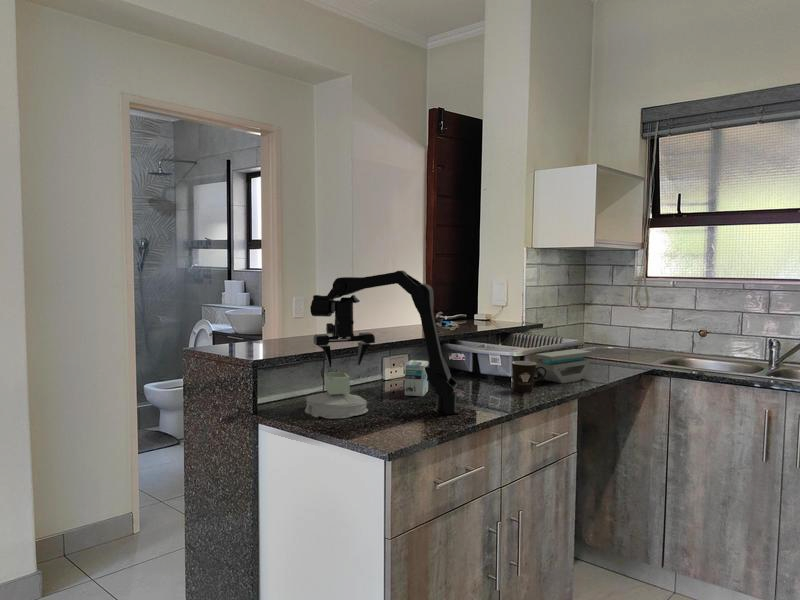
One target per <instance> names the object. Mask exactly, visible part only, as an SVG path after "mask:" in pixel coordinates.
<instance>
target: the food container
mask: <svg viewBox="0 0 800 600" xmlns="http://www.w3.org/2000/svg"><path fill="white" fill-rule="evenodd" d="M305 401H306V407H305V409H304V413H305V414H307V415H310V416H312V417H314V418H319V417H321V418H324V419H346V418H352V417H354V416H360V415H364V414H365V413H367V412H368V411H369V408H367V406H368V401H367V400H366V399H365V398H362V396H359V395H357V394H356V395H355V394H351V393H348V394H331V395H330V394H329V393H328V392H324V393H323V392H321V393H316V394H311V395H308V396H307V397H306V398H305Z"/></svg>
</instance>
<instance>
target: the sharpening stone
mask: <svg viewBox="0 0 800 600" xmlns="http://www.w3.org/2000/svg"><path fill="white" fill-rule="evenodd" d="M592 353H593V351H591V350H585V349H577V348H573V349H566V350H565V349H564V350H559V351H557V350H556V351H550V352H542V353H541V352H540V353H536V354H535V355H534V358H535V359H538V360H543V361H539V362H536V368H538V367H544V368H545V369H546V375H545V376H544V377H543V378H544V380H545V381H549V382H553V383H559V384H567V383H571V382H578V381H581V380H582V378H583V377H584V376H585V374H586V372H587V370H588V368H589V367H590V363H591V359H586V358H584V357H589V356H593V355H592ZM559 369H562V370H559ZM563 369H564V370H563ZM537 371H538V372H539V373H540V374H541V375H542V376H543V375H544V374H545V370H544V369H542V368H540V369H538V370H537ZM542 376H541V377H542Z"/></svg>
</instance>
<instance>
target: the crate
mask: <svg viewBox="0 0 800 600" xmlns="http://www.w3.org/2000/svg"><path fill="white" fill-rule="evenodd" d="M323 375H324V389H325V391H326V393H329V394H330V395H331V394H351V393H350V392H351V391H350V390H351V389H350V385H351V382H350V381H351V376H349V374H348V373H346V372H345V371H334V372H333V371H332V372H331V371H329V372H323Z"/></svg>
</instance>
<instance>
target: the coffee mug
mask: <svg viewBox="0 0 800 600" xmlns="http://www.w3.org/2000/svg"><path fill="white" fill-rule="evenodd" d="M511 368H512V376H513V377H512V378H513V389H514V392H518V393H532V392H533V389H534V385H535V383H537V382H539V381H540V380H542V379H543V378H544V376H545V375H546V369H545V368H544V367H538V368H537V362H534V361H529V360H528V361H526V360H516V361H515V360H514V361H512V362H511ZM540 368H542V369H544V370H545V374H544V375H543V376H541V377H540V378H538V379H536V380H535V375H536V372H537V371H539V370H538V369H540Z"/></svg>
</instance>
